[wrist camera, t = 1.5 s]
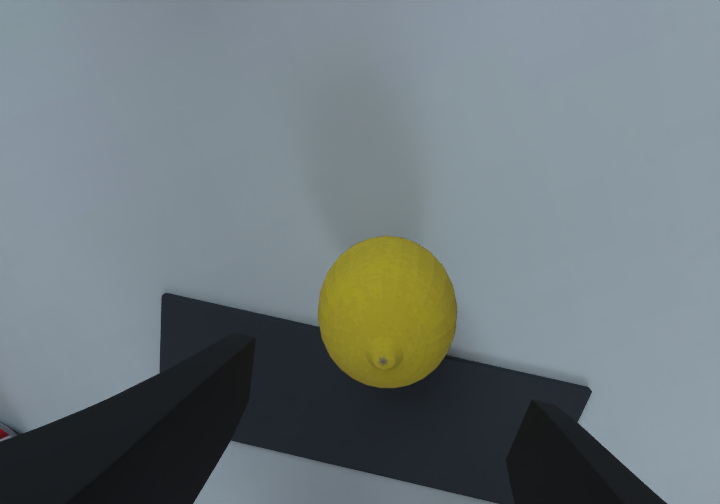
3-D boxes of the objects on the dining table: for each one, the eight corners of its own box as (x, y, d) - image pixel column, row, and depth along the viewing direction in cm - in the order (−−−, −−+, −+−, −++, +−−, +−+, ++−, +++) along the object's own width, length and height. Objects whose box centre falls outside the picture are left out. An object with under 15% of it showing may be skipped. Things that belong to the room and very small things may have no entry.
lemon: (338, 216, 18) (295, 268, 10) (449, 224, 17) (492, 285, 10) (333, 315, 19) (294, 424, 12) (435, 325, 19) (463, 445, 11)
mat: (532, 506, 22) (535, 512, 21) (162, 418, 22) (157, 423, 22) (588, 386, 19) (592, 391, 19) (165, 292, 20) (161, 295, 19)
